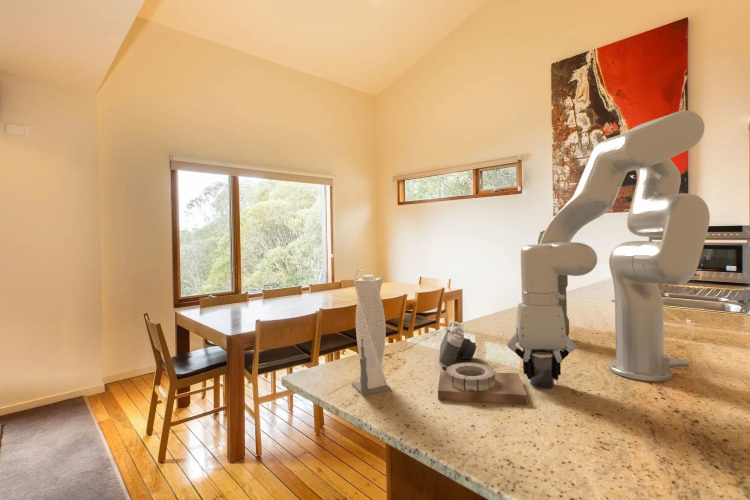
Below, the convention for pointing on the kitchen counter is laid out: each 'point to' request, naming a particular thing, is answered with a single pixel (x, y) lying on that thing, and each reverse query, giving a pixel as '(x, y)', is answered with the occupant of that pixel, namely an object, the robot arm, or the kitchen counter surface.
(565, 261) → the robot arm
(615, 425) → the kitchen counter surface
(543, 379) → the lens
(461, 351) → the camera
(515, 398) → the mount board
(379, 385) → the skyscraper
